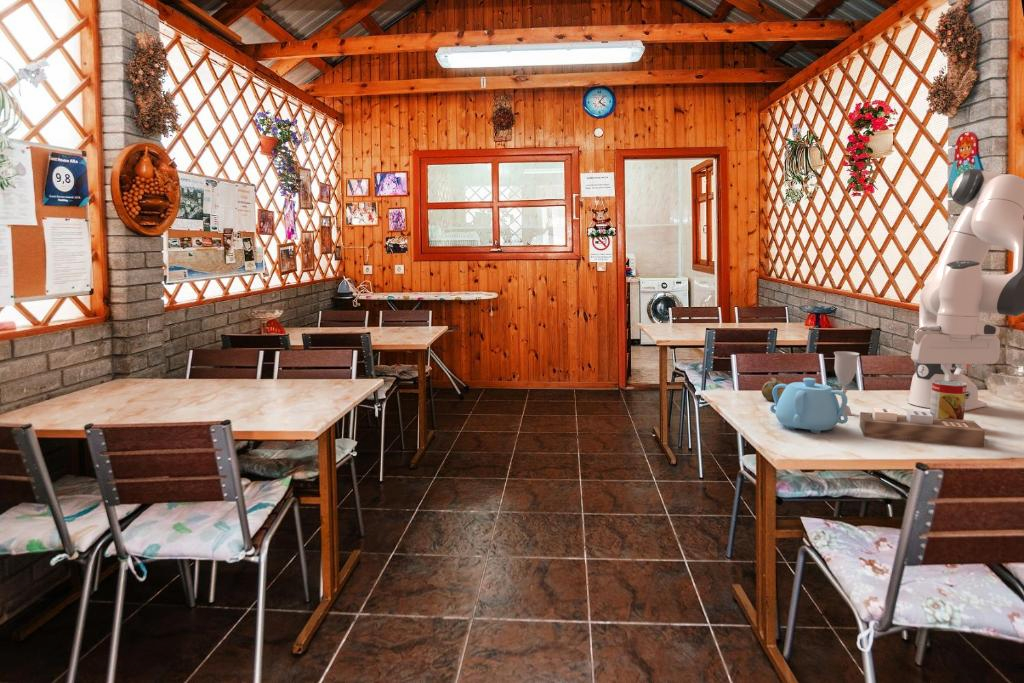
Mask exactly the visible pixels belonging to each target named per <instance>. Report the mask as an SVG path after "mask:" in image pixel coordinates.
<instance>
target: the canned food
mask: <svg viewBox="0 0 1024 683" xmlns="http://www.w3.org/2000/svg"><path fill="white" fill-rule="evenodd" d="M966 388H967V384H966V383H963V382H959V381H945V380H934V381H932V391H931V403H930V408H929V413H930V414H931V415H932V416H933V418H944V419H957V420H965V411H964V410H965V399H966Z"/></svg>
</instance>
